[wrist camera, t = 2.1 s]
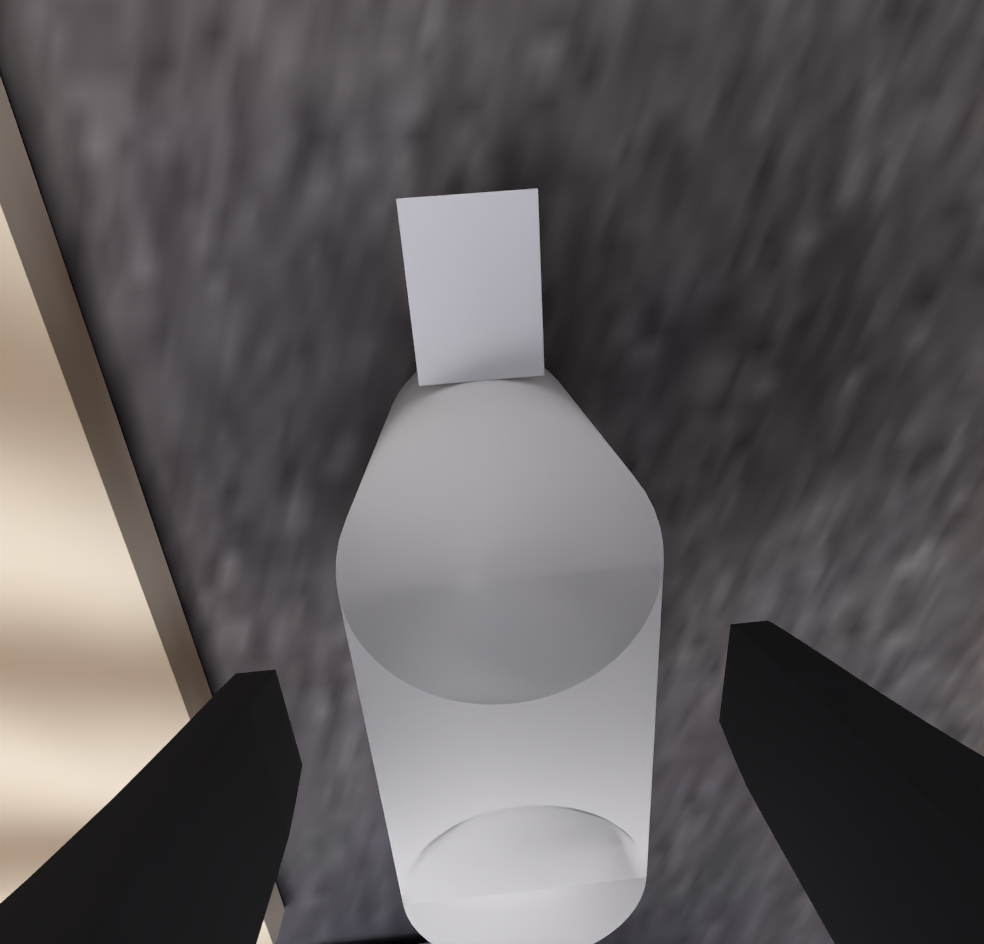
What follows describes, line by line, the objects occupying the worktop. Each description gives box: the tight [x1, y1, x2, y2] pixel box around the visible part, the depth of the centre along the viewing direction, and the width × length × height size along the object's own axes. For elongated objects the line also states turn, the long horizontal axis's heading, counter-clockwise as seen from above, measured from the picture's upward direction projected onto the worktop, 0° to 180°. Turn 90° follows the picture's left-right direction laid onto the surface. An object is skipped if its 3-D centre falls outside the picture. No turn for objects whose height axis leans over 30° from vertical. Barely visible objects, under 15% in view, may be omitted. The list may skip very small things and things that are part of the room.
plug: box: [336, 188, 664, 944], centre depth 10 cm, size 12×4×5 cm, turn 4°
